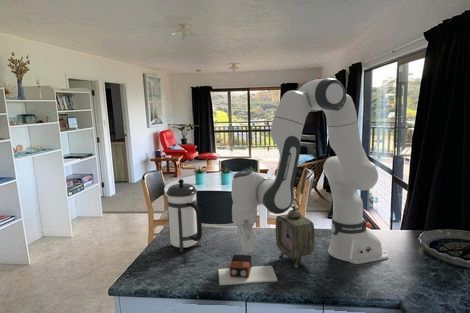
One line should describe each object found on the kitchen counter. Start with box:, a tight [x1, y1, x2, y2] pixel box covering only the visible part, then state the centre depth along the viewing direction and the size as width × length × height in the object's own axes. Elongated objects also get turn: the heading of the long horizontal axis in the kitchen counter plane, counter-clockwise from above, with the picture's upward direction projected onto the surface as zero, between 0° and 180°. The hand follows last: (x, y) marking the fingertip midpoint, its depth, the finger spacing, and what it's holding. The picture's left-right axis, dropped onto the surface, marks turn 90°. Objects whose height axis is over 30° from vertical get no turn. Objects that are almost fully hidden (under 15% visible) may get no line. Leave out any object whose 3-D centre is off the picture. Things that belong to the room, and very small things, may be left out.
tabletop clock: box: [275, 197, 315, 269], centre depth 125 cm, size 14×9×25 cm, turn 22°
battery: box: [229, 254, 252, 278], centre depth 118 cm, size 4×7×10 cm
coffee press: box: [165, 178, 203, 254], centre depth 140 cm, size 17×16×30 cm
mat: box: [218, 265, 278, 286], centre depth 116 cm, size 20×10×1 cm, turn 95°
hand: (245, 252), depth 117 cm, fingers closed
